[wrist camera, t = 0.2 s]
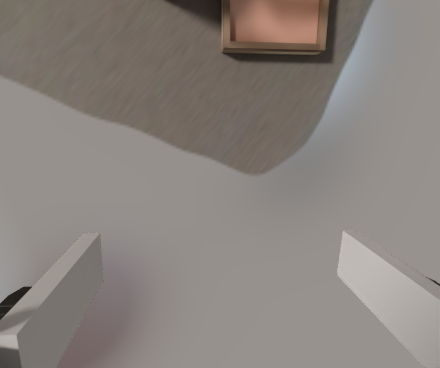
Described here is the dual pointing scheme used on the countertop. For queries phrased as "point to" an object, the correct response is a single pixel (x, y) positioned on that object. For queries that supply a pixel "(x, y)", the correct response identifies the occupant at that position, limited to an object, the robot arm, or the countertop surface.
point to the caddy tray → (274, 26)
